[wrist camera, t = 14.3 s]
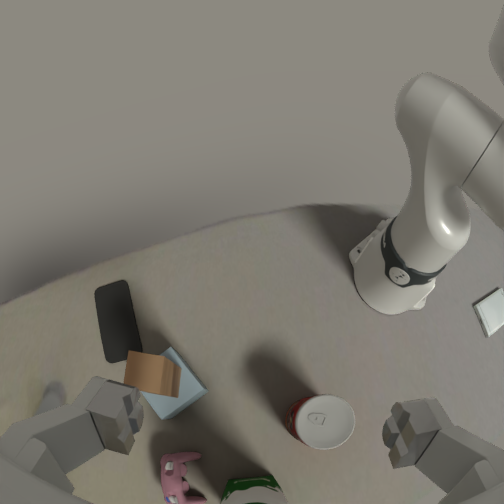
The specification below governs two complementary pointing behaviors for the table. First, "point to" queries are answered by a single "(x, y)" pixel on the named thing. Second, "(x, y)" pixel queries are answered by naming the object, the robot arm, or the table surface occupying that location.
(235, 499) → the milk carton
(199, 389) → the base block
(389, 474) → the table surface
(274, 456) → the table surface
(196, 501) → the video game controller
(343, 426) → the canned food
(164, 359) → the walnut post
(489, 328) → the hard drive
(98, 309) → the phone
